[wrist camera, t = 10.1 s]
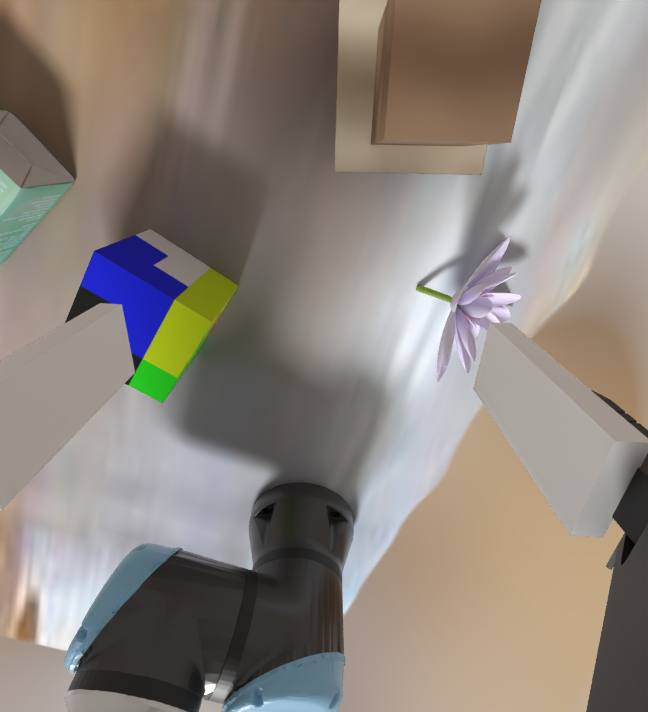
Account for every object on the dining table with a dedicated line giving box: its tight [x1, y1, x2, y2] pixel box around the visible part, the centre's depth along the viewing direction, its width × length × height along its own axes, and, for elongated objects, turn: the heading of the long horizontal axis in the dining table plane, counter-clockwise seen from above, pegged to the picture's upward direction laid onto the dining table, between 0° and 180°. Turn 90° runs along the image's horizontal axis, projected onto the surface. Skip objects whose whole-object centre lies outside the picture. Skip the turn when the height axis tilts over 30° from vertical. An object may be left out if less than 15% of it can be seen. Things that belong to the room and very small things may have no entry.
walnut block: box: [371, 0, 541, 146], centre depth 20 cm, size 6×6×8 cm
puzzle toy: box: [65, 229, 238, 403], centre depth 37 cm, size 10×10×10 cm
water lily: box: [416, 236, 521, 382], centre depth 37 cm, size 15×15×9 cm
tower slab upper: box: [335, 0, 487, 175], centre depth 26 cm, size 10×10×5 cm
